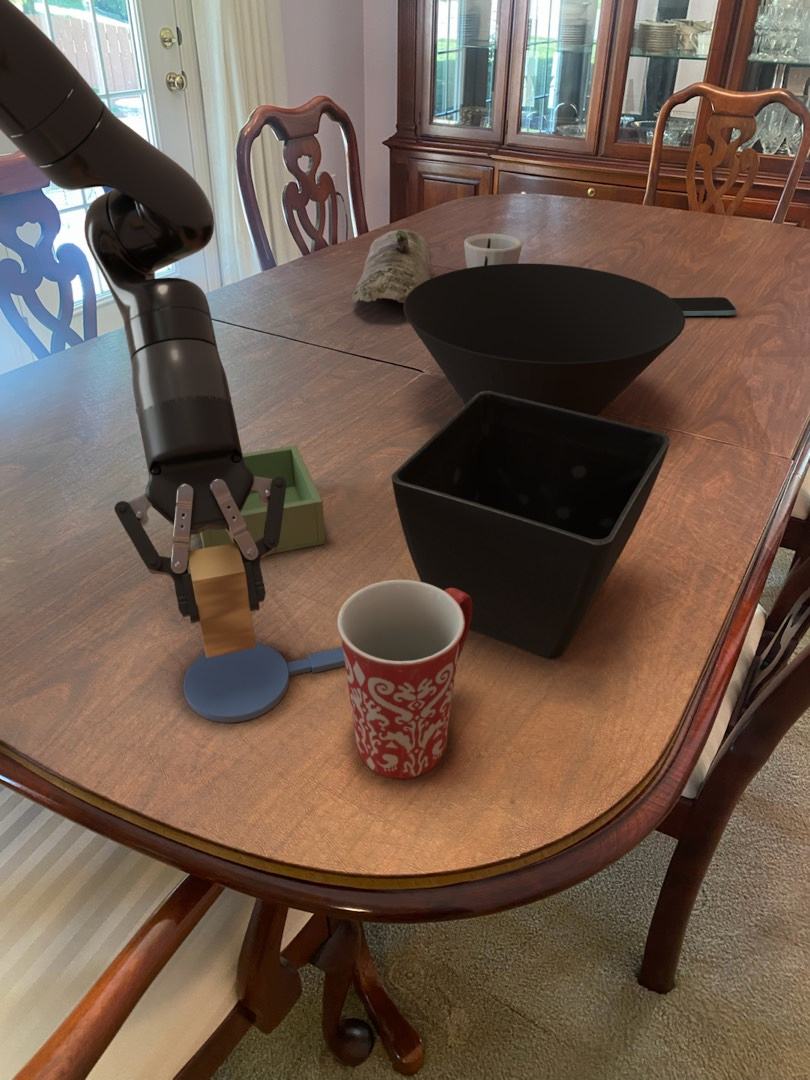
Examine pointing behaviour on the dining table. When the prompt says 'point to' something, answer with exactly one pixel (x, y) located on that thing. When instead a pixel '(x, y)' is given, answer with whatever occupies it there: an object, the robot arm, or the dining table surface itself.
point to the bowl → (542, 331)
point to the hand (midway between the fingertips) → (225, 614)
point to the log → (394, 266)
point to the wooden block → (222, 599)
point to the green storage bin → (299, 505)
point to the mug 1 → (402, 671)
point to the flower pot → (525, 512)
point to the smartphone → (705, 306)
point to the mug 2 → (491, 250)
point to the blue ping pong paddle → (248, 681)
